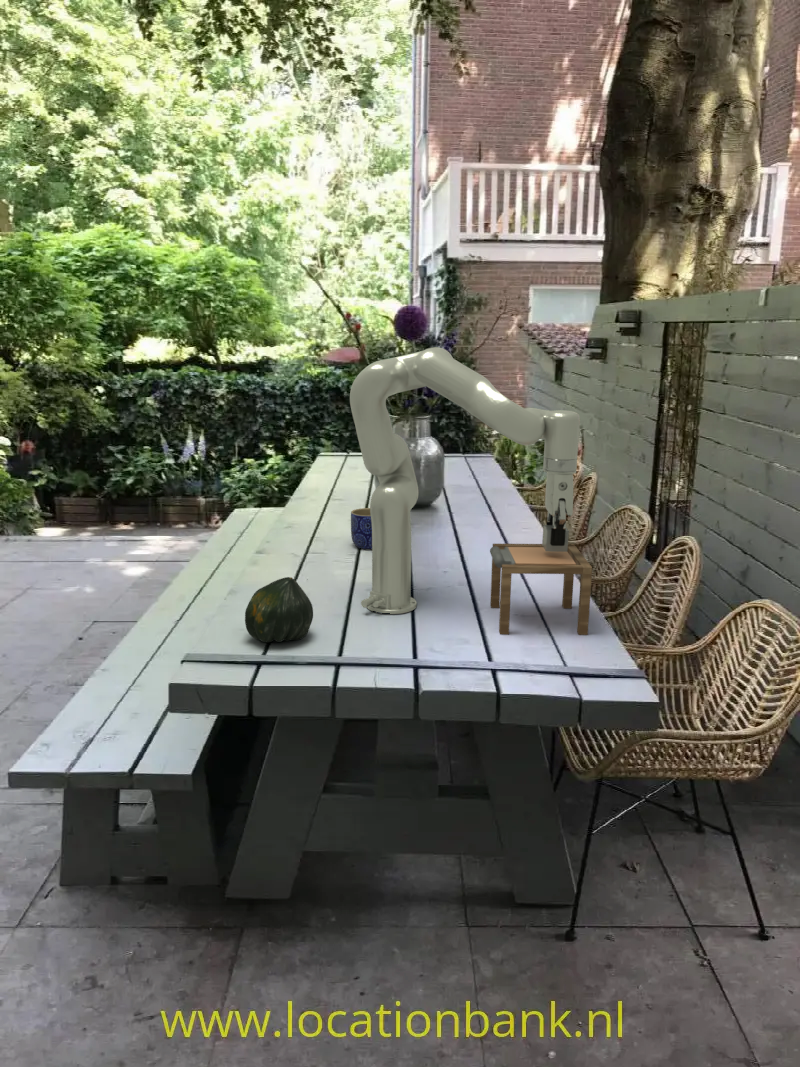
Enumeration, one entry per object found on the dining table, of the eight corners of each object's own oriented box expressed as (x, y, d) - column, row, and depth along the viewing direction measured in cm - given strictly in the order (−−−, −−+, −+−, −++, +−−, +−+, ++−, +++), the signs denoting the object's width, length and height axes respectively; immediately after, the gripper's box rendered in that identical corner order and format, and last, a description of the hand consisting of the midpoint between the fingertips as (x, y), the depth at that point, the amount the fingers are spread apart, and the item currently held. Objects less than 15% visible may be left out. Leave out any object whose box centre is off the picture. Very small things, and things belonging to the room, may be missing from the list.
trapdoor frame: (587, 634, 197) (592, 567, 193) (500, 634, 197) (502, 567, 193) (570, 605, 216) (573, 544, 212) (490, 605, 216) (492, 543, 212)
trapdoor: (575, 571, 196) (576, 560, 196) (495, 570, 196) (496, 560, 196) (563, 554, 210) (564, 544, 209) (488, 553, 210) (489, 543, 209)
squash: (226, 611, 194) (252, 572, 185) (280, 599, 204) (307, 562, 195) (253, 664, 189) (281, 627, 180) (307, 649, 199) (336, 613, 190)
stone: (567, 551, 200) (568, 530, 199) (545, 551, 200) (547, 530, 199) (563, 545, 205) (564, 525, 204) (542, 545, 205) (543, 525, 203)
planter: (387, 542, 273) (388, 508, 270) (383, 552, 262) (384, 516, 260) (353, 541, 274) (353, 507, 271) (348, 550, 263) (348, 515, 261)
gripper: (584, 472, 189) (578, 552, 194) (568, 459, 206) (563, 532, 210) (550, 471, 189) (545, 551, 194) (537, 458, 206) (533, 532, 210)
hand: (555, 541), depth 202 cm, fingers open, 5 cm apart
